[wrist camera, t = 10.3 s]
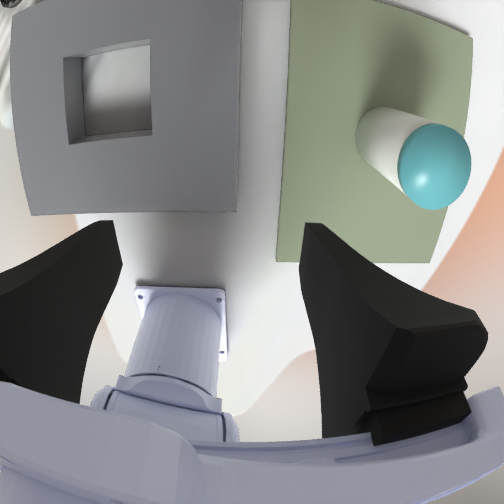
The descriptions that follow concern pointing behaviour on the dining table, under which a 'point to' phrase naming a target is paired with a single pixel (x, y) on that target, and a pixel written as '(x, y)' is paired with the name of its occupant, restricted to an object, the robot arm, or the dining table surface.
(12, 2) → the phone
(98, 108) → the dining table surface
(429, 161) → the cylinder
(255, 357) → the dining table surface
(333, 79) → the mat
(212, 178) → the housing
